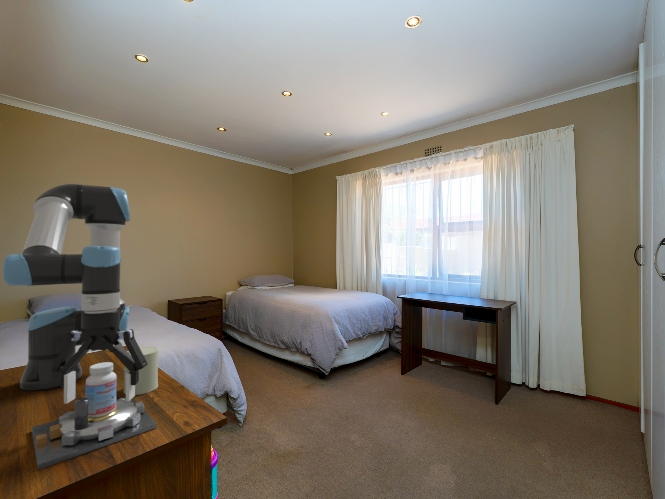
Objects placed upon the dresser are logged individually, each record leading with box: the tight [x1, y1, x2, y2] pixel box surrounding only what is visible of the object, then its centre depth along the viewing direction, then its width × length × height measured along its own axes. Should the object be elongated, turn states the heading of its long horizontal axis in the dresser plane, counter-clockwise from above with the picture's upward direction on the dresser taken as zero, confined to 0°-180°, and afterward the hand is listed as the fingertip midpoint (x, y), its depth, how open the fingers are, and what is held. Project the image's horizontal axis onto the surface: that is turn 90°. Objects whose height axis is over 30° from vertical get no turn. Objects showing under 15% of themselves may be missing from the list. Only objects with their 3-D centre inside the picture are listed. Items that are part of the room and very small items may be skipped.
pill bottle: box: [84, 361, 118, 418], centre depth 77 cm, size 6×6×11 cm
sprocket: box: [50, 397, 145, 445], centre depth 77 cm, size 18×18×8 cm
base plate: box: [31, 398, 158, 471], centre depth 76 cm, size 19×21×2 cm
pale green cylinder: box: [123, 346, 159, 396], centre depth 99 cm, size 9×9×12 cm
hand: (100, 399), depth 77 cm, fingers open, 13 cm apart
